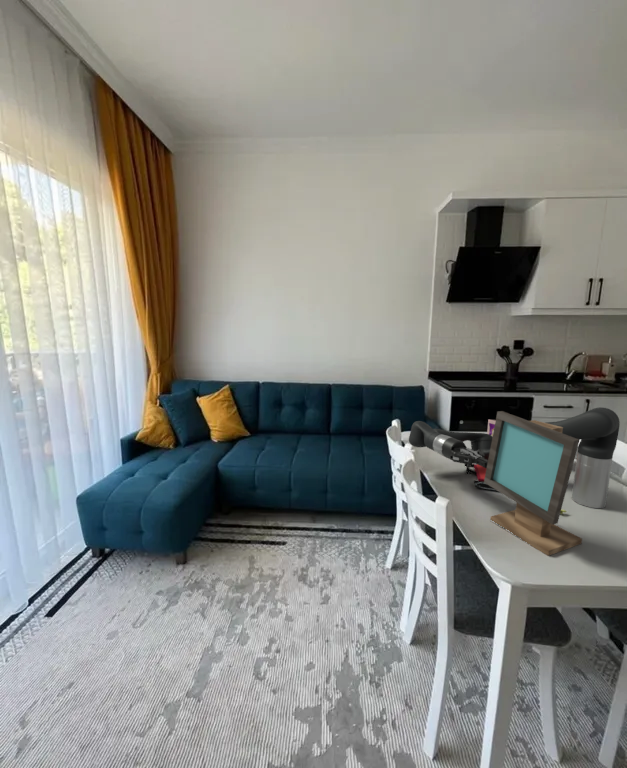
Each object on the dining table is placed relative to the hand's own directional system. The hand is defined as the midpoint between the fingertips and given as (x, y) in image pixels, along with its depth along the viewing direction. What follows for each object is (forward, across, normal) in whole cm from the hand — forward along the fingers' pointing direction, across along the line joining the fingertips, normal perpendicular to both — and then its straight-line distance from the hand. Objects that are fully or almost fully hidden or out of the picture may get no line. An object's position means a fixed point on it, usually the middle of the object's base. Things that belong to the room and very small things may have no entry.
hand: (489, 465), depth 108 cm
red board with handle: (-22, -25, -18) cm, 38 cm away
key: (+4, -23, -17) cm, 29 cm away
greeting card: (-40, -56, -17) cm, 71 cm away
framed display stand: (+13, -4, -17) cm, 21 cm away
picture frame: (+10, 0, -7) cm, 13 cm away
